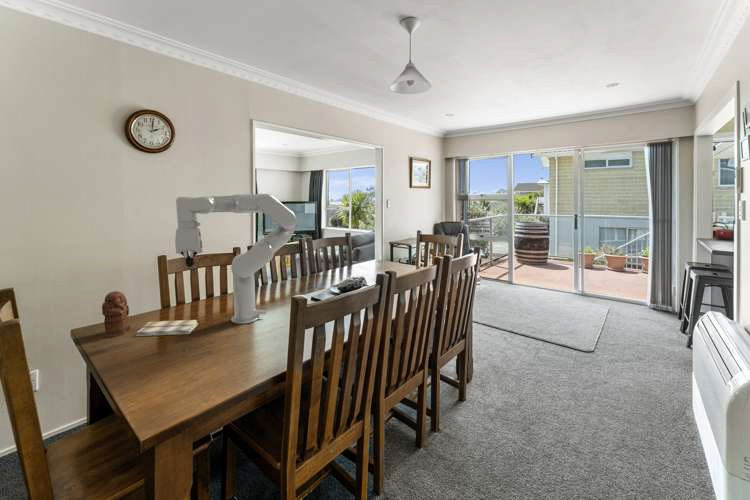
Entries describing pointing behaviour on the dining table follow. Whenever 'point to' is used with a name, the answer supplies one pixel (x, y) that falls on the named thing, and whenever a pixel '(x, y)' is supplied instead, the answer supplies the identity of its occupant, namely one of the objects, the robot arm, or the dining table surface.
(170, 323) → the plank
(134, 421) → the dining table surface
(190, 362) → the dining table surface
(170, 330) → the laid board
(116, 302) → the wooden figurine
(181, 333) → the underlay
